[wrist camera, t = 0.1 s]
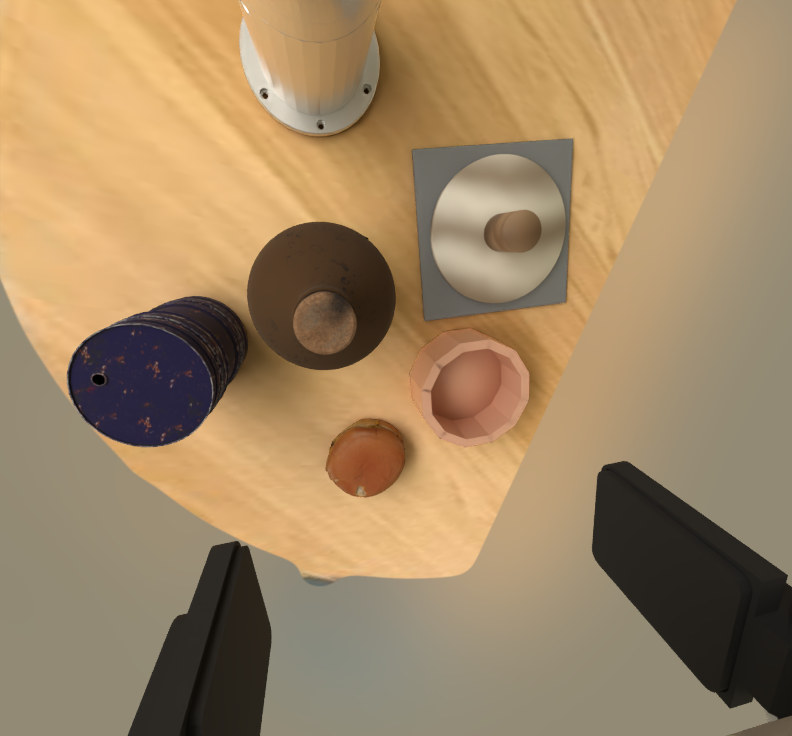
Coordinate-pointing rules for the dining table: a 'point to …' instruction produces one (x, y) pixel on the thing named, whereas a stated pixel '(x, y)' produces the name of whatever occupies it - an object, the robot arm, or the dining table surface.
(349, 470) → the burger
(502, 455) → the dining table surface
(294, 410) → the dining table surface
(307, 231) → the olive oil
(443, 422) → the bowl
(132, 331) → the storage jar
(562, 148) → the mat
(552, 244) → the lid
